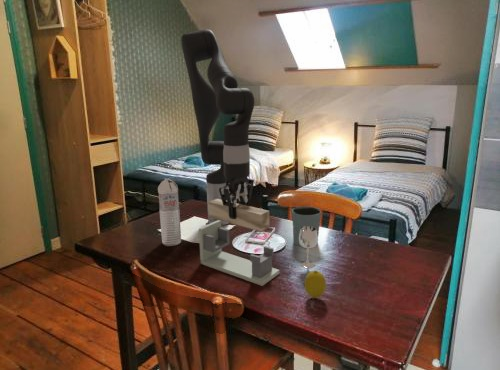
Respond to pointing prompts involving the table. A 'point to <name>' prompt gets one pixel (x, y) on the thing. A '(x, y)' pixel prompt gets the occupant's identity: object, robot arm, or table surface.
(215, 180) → the robot arm
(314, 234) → the wineglass
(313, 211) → the grey plant pot
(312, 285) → the lemon
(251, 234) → the phone case
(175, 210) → the water bottle
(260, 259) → the bracket stand
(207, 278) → the table surface
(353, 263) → the table surface
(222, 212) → the rail
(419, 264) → the table surface
